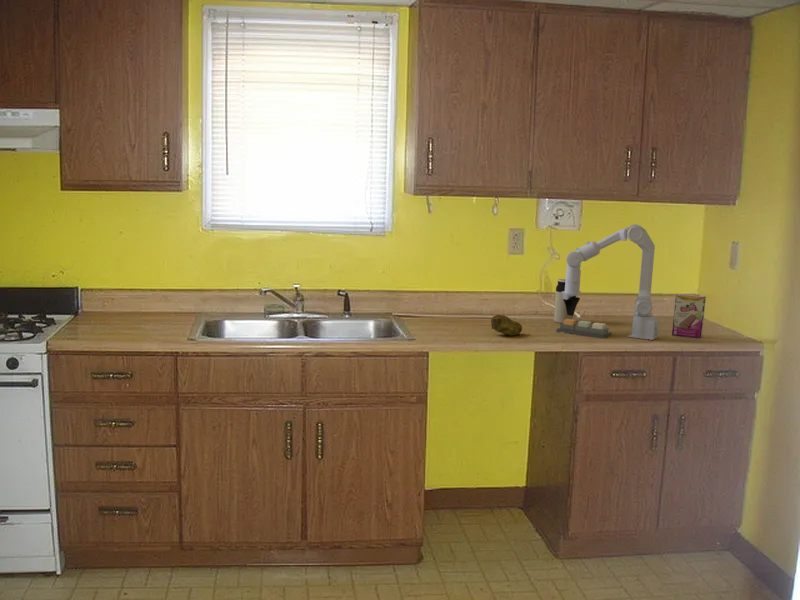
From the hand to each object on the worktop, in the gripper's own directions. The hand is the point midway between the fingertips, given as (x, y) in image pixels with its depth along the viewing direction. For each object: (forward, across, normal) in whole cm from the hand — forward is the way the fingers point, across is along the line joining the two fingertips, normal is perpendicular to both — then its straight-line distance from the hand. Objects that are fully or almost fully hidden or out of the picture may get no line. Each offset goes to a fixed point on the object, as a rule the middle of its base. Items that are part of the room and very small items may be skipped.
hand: (570, 315), depth 329 cm
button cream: (+4, 0, +12) cm, 13 cm away
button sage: (+4, 0, +6) cm, 7 cm away
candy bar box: (+7, -23, +41) cm, 47 cm away
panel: (+6, 0, +6) cm, 9 cm away
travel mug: (+7, -18, -9) cm, 21 cm away
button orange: (+4, 0, 0) cm, 4 cm away
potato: (+7, +24, -16) cm, 30 cm away
